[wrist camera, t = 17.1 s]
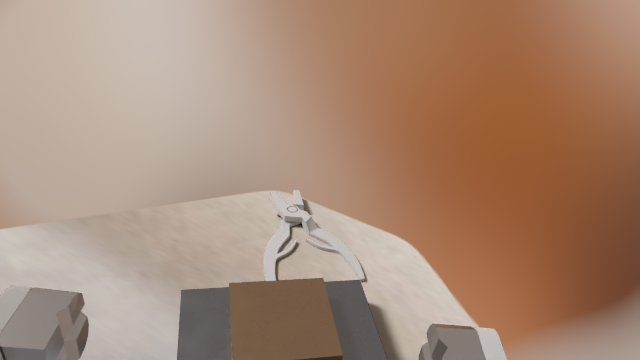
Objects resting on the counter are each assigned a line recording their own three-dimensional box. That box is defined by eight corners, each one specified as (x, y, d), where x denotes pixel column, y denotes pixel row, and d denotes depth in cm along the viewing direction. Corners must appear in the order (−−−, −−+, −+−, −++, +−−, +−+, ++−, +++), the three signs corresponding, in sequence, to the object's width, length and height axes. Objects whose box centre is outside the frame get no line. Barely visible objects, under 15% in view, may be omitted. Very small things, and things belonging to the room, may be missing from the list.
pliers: (270, 285, 46) (243, 193, 58) (269, 297, 47) (243, 204, 59) (368, 271, 49) (323, 186, 61) (366, 283, 50) (322, 197, 62)
